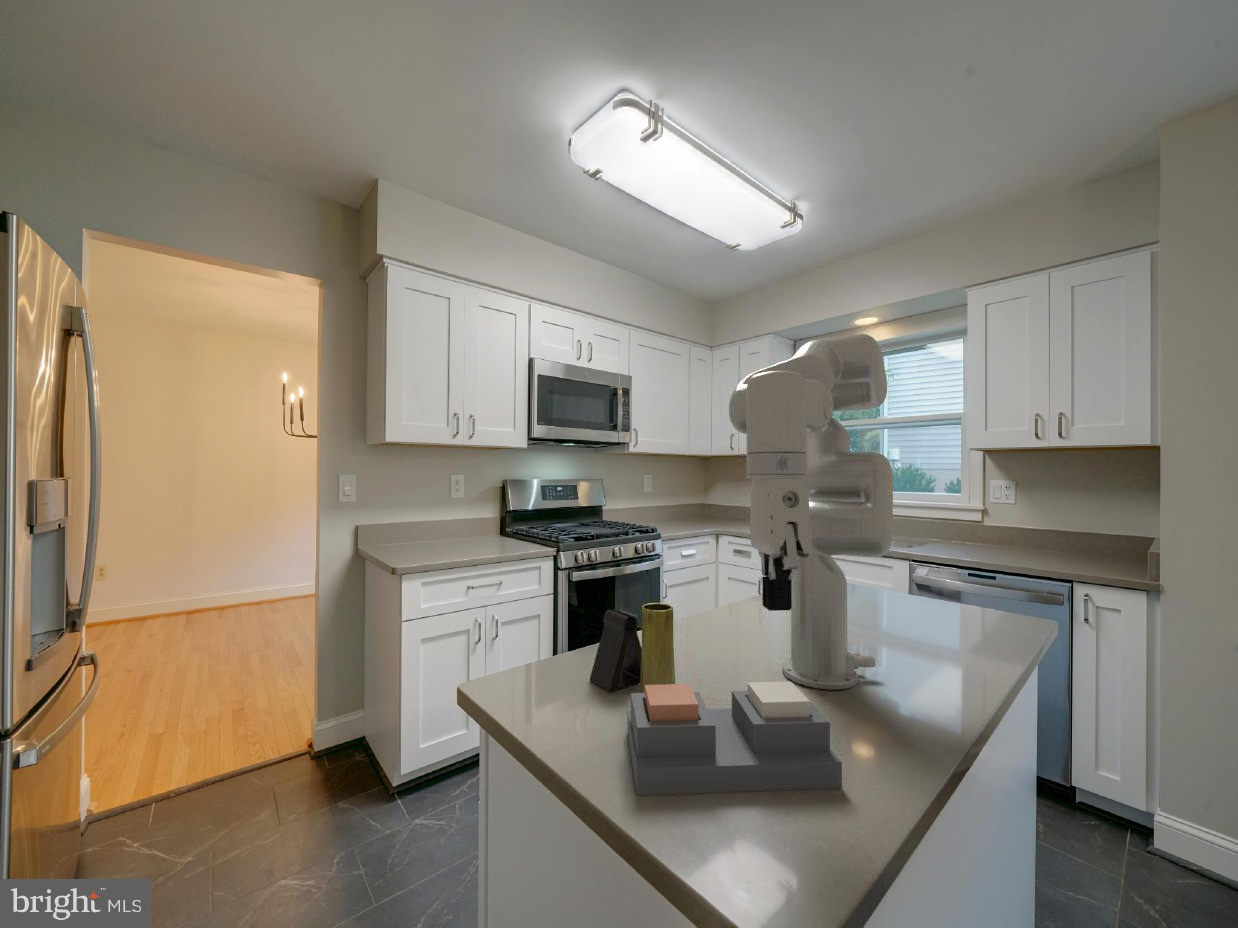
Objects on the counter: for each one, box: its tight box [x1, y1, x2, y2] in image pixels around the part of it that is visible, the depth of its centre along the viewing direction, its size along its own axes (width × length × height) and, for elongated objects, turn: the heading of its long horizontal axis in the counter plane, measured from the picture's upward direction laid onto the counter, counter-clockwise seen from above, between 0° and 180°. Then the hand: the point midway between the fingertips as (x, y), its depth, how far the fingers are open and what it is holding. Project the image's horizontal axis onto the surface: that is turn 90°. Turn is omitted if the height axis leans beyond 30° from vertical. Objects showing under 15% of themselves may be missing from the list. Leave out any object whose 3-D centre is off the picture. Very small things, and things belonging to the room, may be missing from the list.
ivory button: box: [747, 681, 811, 718], centre depth 66 cm, size 6×6×3 cm
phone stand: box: [589, 608, 642, 694], centre depth 90 cm, size 9×6×12 cm, turn 127°
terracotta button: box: [645, 683, 699, 722], centre depth 65 cm, size 6×6×3 cm
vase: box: [638, 602, 676, 693], centre depth 85 cm, size 6×6×14 cm
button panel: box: [627, 690, 843, 796], centre depth 66 cm, size 24×14×6 cm, turn 93°
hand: (776, 608), depth 66 cm, fingers closed
